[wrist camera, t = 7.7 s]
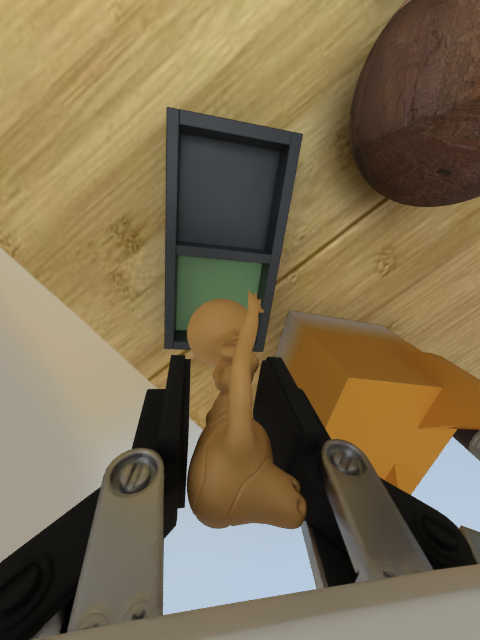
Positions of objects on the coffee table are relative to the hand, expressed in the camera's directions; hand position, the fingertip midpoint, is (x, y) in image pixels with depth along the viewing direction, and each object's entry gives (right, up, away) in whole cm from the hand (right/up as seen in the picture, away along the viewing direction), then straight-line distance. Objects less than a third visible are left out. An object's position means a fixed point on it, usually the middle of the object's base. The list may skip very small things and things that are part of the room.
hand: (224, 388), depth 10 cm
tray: (-1, +11, +18) cm, 21 cm away
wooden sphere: (+16, +23, +16) cm, 32 cm away
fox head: (+15, -4, +28) cm, 32 cm away
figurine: (-2, +3, +6) cm, 7 cm away
